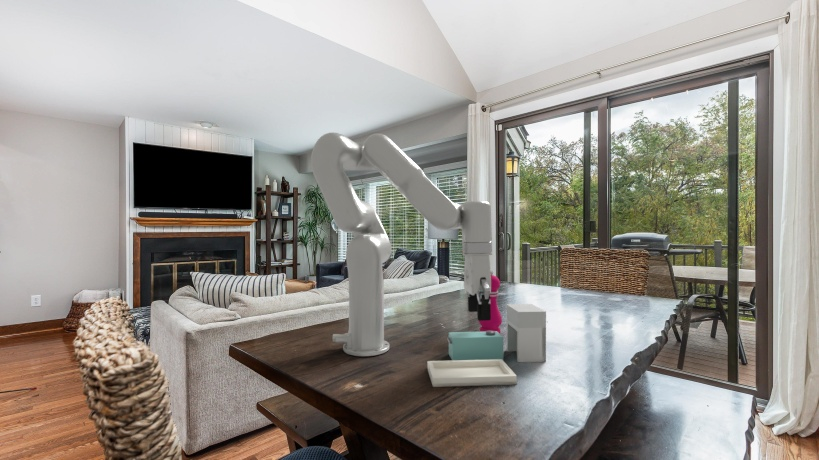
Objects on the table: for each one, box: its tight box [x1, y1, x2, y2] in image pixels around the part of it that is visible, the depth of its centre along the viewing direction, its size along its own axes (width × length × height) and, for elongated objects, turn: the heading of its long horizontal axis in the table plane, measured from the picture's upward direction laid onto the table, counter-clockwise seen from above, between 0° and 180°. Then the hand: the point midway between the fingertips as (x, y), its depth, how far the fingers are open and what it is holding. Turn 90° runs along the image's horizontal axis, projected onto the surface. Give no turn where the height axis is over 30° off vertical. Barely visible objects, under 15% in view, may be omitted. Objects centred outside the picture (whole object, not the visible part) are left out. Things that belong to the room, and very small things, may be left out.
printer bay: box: [505, 303, 547, 363], centre depth 97 cm, size 7×9×12 cm
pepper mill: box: [477, 269, 503, 334], centre depth 116 cm, size 7×7×20 cm
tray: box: [426, 359, 518, 388], centre depth 83 cm, size 18×10×2 cm, turn 94°
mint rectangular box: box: [446, 330, 504, 361], centre depth 96 cm, size 14×5×7 cm, turn 95°
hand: (479, 315), depth 95 cm, fingers open, 9 cm apart
